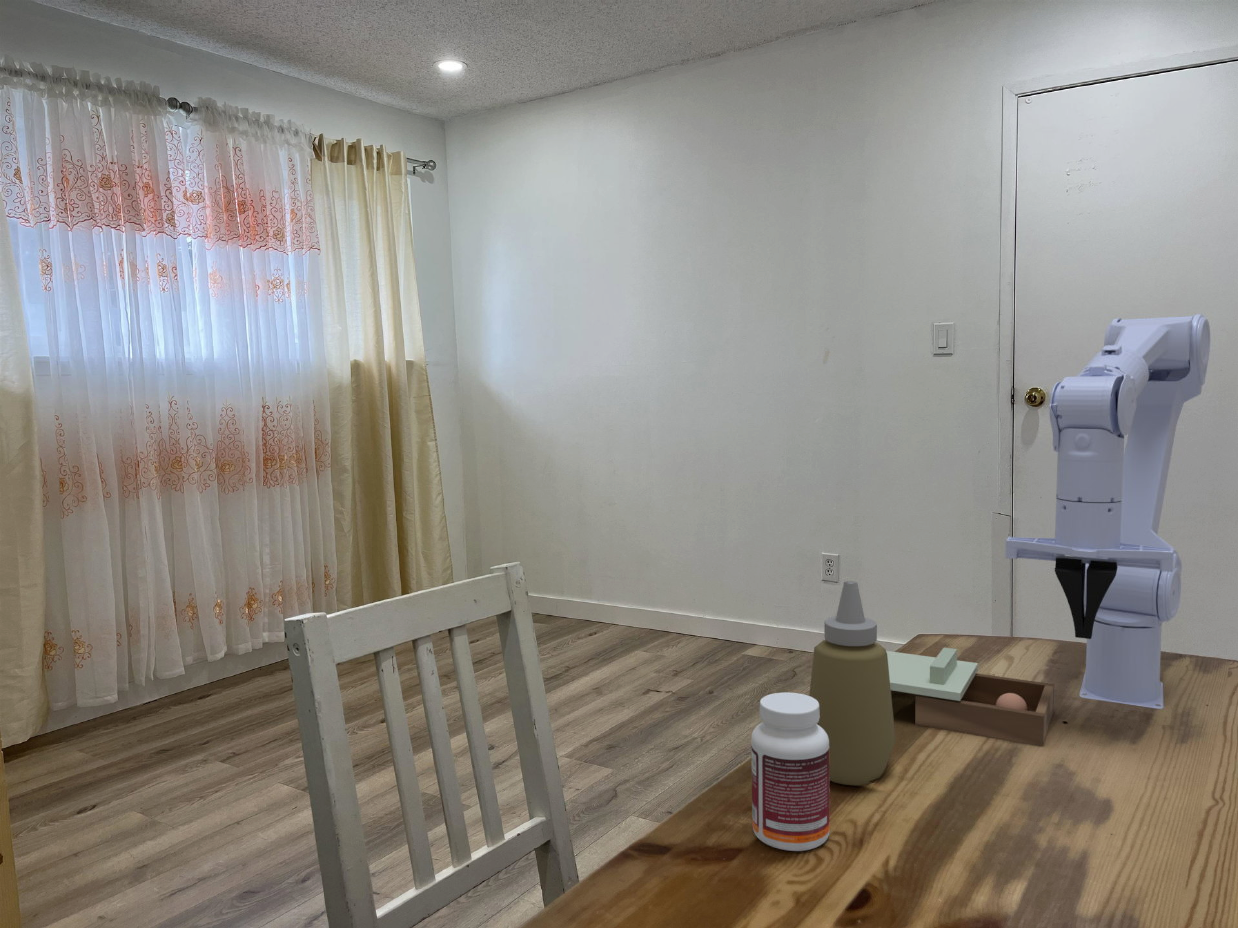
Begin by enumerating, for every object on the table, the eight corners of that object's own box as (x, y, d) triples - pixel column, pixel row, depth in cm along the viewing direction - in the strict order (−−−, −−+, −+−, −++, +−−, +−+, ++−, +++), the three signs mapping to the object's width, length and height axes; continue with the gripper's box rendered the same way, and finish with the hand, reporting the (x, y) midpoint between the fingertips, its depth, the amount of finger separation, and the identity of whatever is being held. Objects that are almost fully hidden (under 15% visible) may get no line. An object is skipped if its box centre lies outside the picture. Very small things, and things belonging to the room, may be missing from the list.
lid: (866, 654, 106) (867, 633, 106) (977, 670, 100) (978, 647, 100) (840, 682, 97) (840, 658, 97) (960, 700, 91) (960, 675, 91)
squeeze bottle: (788, 775, 84) (787, 584, 82) (833, 747, 90) (833, 569, 88) (868, 802, 78) (870, 598, 77) (910, 771, 84) (913, 580, 82)
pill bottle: (846, 838, 73) (846, 704, 72) (790, 862, 69) (789, 723, 68) (791, 808, 78) (790, 683, 77) (736, 829, 74) (734, 699, 73)
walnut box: (935, 698, 102) (936, 667, 102) (1053, 717, 96) (1054, 684, 96) (915, 729, 94) (915, 695, 93) (1042, 752, 88) (1043, 716, 87)
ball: (997, 714, 96) (998, 687, 95) (1028, 719, 94) (1029, 691, 94) (993, 724, 93) (993, 696, 93) (1025, 729, 92) (1025, 700, 91)
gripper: (1002, 499, 89) (998, 635, 90) (1176, 508, 82) (1169, 656, 83) (1012, 492, 95) (1008, 619, 96) (1175, 499, 88) (1169, 637, 89)
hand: (1083, 635), depth 90 cm, fingers closed
